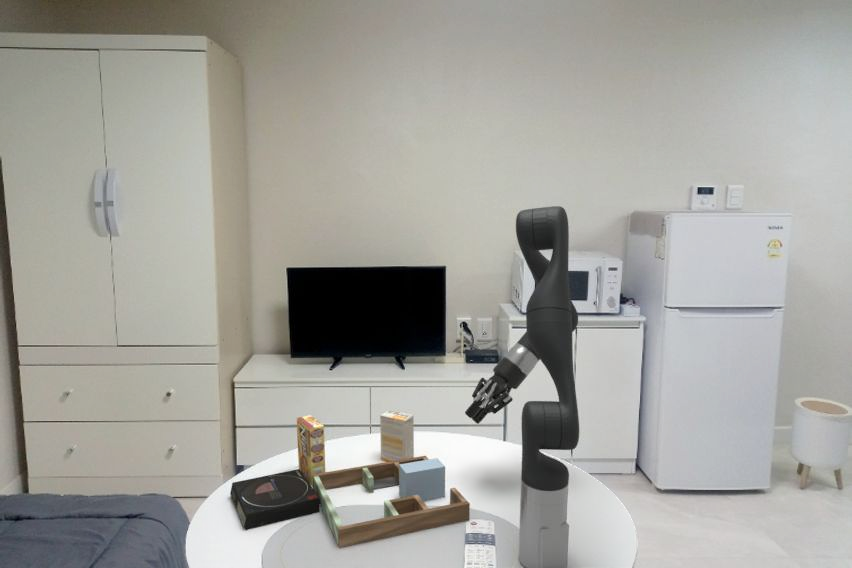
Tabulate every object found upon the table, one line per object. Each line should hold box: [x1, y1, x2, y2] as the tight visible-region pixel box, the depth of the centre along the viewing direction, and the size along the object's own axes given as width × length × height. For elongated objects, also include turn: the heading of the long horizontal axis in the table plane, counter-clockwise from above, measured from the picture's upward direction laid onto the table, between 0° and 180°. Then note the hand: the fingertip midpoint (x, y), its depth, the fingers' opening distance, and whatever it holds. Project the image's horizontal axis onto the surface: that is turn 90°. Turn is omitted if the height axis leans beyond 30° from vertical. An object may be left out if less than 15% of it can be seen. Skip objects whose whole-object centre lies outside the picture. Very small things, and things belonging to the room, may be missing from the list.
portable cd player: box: [229, 468, 321, 531], centre depth 147 cm, size 16×17×4 cm
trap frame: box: [312, 455, 471, 549], centre depth 147 cm, size 27×30×4 cm
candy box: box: [296, 414, 326, 487], centre depth 159 cm, size 9×4×15 cm, turn 34°
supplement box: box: [379, 409, 415, 462], centre depth 170 cm, size 8×5×13 cm, turn 58°
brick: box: [398, 457, 446, 503], centre depth 151 cm, size 5×10×8 cm, turn 112°
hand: (471, 418), depth 153 cm, fingers open, 3 cm apart
